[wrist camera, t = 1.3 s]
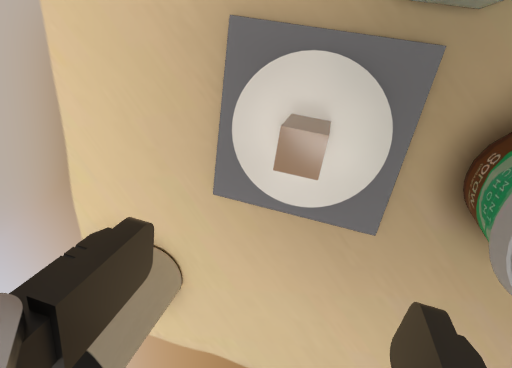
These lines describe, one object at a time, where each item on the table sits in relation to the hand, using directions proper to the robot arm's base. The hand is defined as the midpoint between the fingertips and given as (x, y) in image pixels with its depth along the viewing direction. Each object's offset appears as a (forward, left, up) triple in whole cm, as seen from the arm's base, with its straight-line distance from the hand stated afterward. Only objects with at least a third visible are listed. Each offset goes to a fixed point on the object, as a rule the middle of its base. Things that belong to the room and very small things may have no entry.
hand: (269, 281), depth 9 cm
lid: (+1, 0, -18) cm, 18 cm away
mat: (+1, 0, -19) cm, 19 cm away
